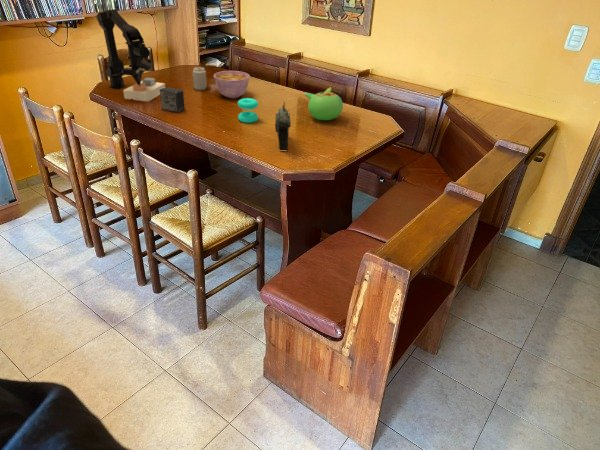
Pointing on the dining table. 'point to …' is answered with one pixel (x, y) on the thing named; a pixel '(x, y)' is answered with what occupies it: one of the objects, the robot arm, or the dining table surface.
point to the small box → (172, 99)
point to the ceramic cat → (283, 127)
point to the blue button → (149, 81)
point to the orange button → (139, 87)
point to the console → (144, 92)
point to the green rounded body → (324, 105)
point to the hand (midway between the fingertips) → (139, 84)
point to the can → (199, 78)
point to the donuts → (248, 105)
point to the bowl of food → (231, 83)
